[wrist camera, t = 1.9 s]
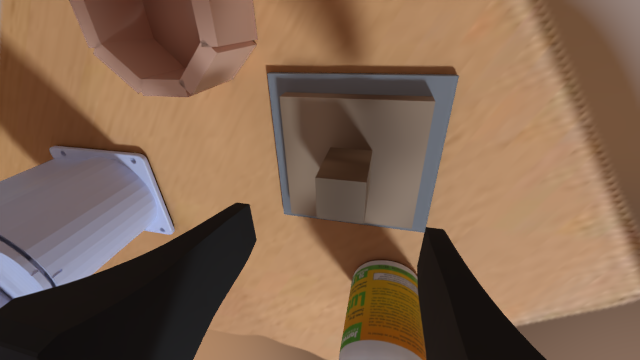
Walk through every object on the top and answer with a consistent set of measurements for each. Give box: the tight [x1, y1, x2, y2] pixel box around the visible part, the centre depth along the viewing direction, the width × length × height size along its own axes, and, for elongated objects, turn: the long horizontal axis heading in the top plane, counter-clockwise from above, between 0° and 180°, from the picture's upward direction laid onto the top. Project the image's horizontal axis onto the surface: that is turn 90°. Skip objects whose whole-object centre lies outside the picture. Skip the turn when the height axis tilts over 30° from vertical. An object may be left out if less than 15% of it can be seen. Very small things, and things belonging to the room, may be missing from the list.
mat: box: [267, 72, 459, 233], centre depth 17 cm, size 10×10×1 cm
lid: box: [279, 92, 435, 229], centre depth 15 cm, size 8×8×4 cm
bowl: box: [69, 0, 258, 97], centre depth 13 cm, size 7×7×4 cm
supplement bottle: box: [339, 260, 426, 360], centre depth 18 cm, size 5×5×10 cm
